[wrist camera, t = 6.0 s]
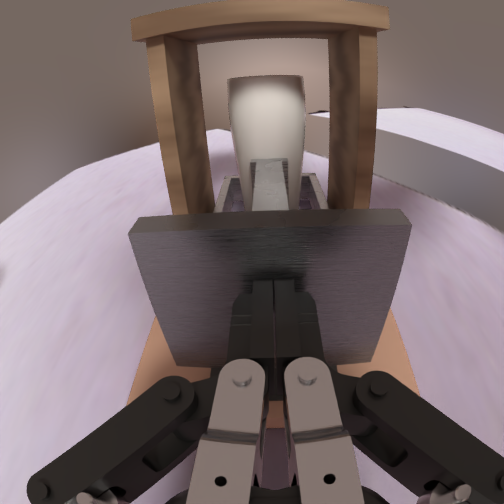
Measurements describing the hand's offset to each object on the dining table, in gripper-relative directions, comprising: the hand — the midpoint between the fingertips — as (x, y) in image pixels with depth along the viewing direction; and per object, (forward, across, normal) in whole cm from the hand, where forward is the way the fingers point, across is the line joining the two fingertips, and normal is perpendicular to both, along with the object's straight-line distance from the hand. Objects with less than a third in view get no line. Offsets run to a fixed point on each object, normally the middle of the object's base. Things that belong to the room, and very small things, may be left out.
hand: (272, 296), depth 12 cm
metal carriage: (+13, 0, +8) cm, 15 cm away
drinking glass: (+18, 0, +8) cm, 20 cm away
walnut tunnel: (+16, 0, +8) cm, 18 cm away
